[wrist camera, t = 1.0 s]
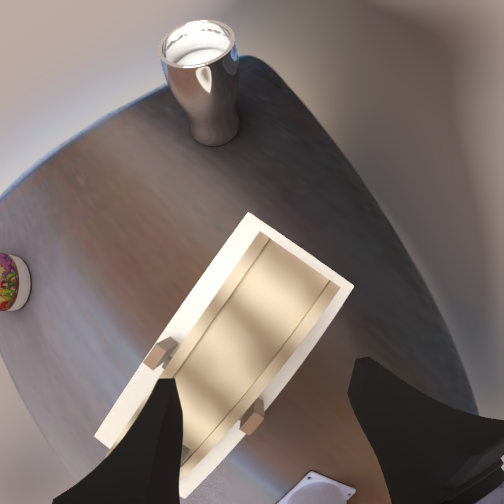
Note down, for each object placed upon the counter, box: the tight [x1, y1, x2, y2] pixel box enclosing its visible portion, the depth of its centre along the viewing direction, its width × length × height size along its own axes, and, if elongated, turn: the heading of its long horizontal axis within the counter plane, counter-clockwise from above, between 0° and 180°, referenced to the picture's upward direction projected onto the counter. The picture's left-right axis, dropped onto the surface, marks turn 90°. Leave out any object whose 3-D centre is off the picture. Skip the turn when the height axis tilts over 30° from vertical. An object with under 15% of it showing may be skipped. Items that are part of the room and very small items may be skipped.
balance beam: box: [105, 231, 341, 482], centre depth 26 cm, size 30×9×3 cm, turn 145°
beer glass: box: [158, 20, 240, 146], centre depth 28 cm, size 7×7×15 cm
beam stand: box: [95, 212, 354, 499], centre depth 29 cm, size 34×14×6 cm, turn 145°
